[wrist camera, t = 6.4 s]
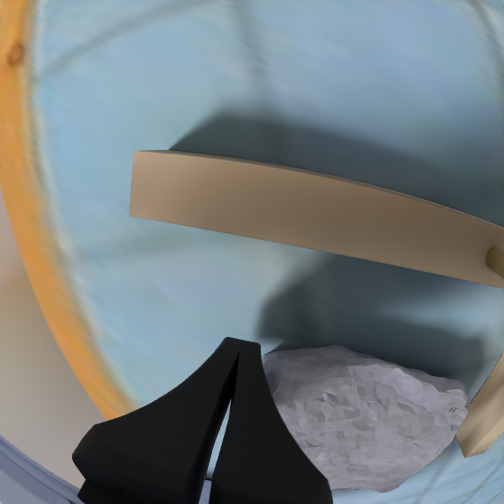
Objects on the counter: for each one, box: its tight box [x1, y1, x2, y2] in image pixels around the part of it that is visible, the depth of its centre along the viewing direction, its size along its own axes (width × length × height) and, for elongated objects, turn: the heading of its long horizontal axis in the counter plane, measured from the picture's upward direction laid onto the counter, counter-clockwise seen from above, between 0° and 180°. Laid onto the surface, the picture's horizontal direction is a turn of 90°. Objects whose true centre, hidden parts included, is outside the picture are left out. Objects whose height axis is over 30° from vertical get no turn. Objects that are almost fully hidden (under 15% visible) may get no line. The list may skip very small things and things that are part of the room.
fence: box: [130, 150, 504, 458], centre depth 10 cm, size 13×21×4 cm, turn 81°
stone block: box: [262, 344, 468, 493], centre depth 12 cm, size 12×5×10 cm
